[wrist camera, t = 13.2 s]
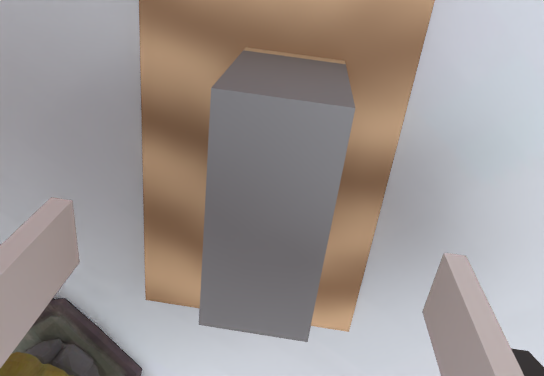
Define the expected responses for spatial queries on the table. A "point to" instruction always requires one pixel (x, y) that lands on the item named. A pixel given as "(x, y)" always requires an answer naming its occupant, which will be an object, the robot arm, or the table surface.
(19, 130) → the table surface
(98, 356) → the statue
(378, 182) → the oak board
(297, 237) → the block
